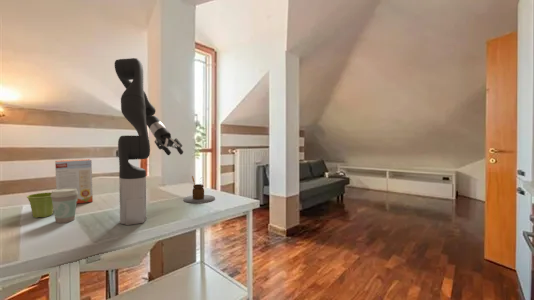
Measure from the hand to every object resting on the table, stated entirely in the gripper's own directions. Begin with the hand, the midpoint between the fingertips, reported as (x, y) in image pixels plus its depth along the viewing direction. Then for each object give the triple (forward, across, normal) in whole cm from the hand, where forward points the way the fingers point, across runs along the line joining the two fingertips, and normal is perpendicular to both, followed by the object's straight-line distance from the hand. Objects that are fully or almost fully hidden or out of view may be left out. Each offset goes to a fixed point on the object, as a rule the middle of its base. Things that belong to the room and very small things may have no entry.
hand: (176, 153), depth 138 cm
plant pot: (-1, -47, +35) cm, 59 cm away
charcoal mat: (+24, +6, +10) cm, 27 cm away
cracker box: (-9, -30, +42) cm, 53 cm away
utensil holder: (+24, +6, +10) cm, 26 cm away
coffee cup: (+10, -46, +25) cm, 53 cm away
